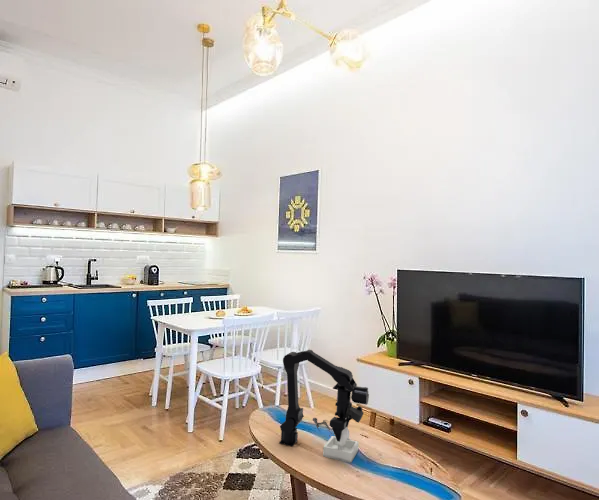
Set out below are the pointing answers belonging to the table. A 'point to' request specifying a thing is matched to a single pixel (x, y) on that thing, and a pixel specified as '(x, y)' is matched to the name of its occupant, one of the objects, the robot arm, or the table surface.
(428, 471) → the table surface
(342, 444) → the lightbulb
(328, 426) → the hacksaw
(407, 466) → the table surface
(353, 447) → the tray
